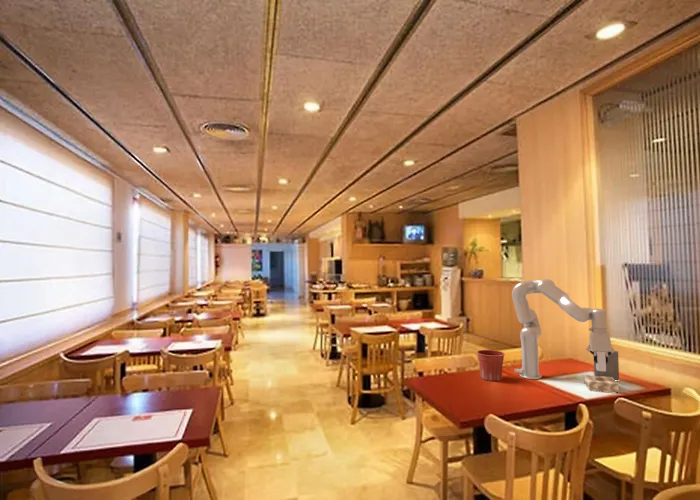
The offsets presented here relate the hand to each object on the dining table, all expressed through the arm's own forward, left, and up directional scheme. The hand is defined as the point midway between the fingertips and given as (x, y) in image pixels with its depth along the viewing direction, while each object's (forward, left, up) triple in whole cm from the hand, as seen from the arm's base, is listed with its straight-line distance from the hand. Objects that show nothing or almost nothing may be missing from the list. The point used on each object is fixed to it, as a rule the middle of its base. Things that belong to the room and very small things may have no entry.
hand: (600, 362), depth 225 cm
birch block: (0, 0, -14) cm, 14 cm away
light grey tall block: (0, 0, -4) cm, 4 cm away
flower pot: (-59, 0, -15) cm, 61 cm away
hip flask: (+6, +17, -15) cm, 23 cm away
